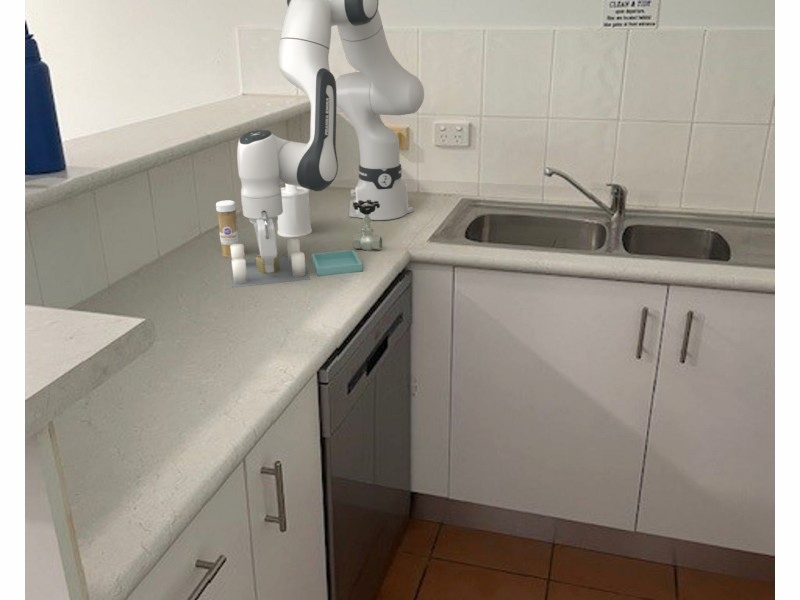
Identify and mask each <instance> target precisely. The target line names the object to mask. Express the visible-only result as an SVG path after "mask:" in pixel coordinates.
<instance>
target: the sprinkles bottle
mask: <svg viewBox="0 0 800 600" xmlns="http://www.w3.org/2000/svg"><path fill="white" fill-rule="evenodd" d="M215 209H216V213H217V219H218V227H219V229H218V230H219V238H220V240H219V241H220V244H221V245H220V247H221V256H222V257H224V258H232V257H231V249H230V246H231V245H232V244H240V239H239V230H238V221H237V213H236V211H237V207H236V202H235V201H234V200H230V199H228V200H227V199H225V200H220V201H217V202H216V203H215Z"/></svg>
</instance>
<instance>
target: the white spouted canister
mask: <svg viewBox="0 0 800 600" xmlns="http://www.w3.org/2000/svg"><path fill="white" fill-rule="evenodd" d="M284 184H285V183H284ZM280 188H281V194H282V206H283V213H282V214H281V215H279V216H278V220H277V221H276V222H277V232H276V233H277V235H278V236H279V237H283V238H284V237H285V238H299V237H300V238H301V237H304V236H305V237H306V236H308V235H310V234H312V233H313V228H312V226H311V225H312V223H311V213H310V212H311V210H310V195H309V194H310V189H306V188H303V187H300V186H294V185H288V184H285V186H284V187H280Z"/></svg>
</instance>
